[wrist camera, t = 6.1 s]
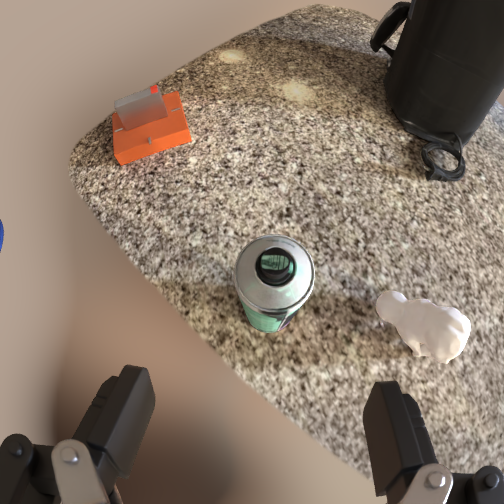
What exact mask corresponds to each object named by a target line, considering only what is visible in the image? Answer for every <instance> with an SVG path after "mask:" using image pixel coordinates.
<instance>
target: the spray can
mask: <svg viewBox="0 0 504 504" xmlns="http://www.w3.org/2000/svg"><path fill="white" fill-rule="evenodd" d="M314 279H315V268H314V263H313V260H312V258H311V256H310V254H309V252H308V251H307V250H306V248H305V247H304V246H303V245H302V244H301V243H299V242H298V241H296V240H295V239H293V238H290V237H288V236H284V235H280V234H270V235H264V236H261V237H258V238H256V239H254V240H252V241H251V242H250V243H248V244H247V245H246V246H245V247H244V248H243V249H242V251H241V252H240V254H239V256H238V258H237V260H236V264H235V268H234V283H235V287H236V290H237V293H238V295H239V298H240V300H241V303H242V305H243V308H244V310H245V313H246V315H247V318H248V320H249V322H250V323H251V325H252V326H253V327H254V328H256V329H257V330H259V331H261V332H265V333H274V332H277V331H280V330H281V329H283V328H284V327H285V326H286V325H287V324H288V323H289V322H290V321H291V319H292V318H293V317H294V315H295V314H296V313H297V312H298V310H299V309H300V308H301V306H302V305H303V304H304V303H305V301H306V300H307V298H308V297H309V296H310V293H311V291H312V289H313V285H314Z"/></svg>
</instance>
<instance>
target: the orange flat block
mask: <svg viewBox="0 0 504 504" xmlns="http://www.w3.org/2000/svg"><path fill="white" fill-rule="evenodd" d="M162 98H163V101H164V103H165V106H166V109H167V113H168V116H167V117H164V118H161V119H158V120H156V121H153V122H150V123H147V124H144V125H141V126H139V127H136V128H133V129H131V130H128V131H127V130H126V128H125V127H124V125H123V123H122V121H121V119H120V117H119V115H118V113H117V112H116V113H114V114H112V124H113V146H114V156H115V157H116V159H117V160H118V162H119V163H120V165H121V166H122V165H124V164H127V163H130V162H132V161H135V160H138V159H140V158H143V157H146V156H149V155H151V154H154V153H157V152H160V151H163V150H166V149H169V148H172V147H175V146H178V145H181V144H184V143H187V142H190V141H192V140H191V136H190V132H189V129H188V125H187V122H186V118H185V114H184V111H183V107H182V103H181V100H180V96H179V93H178V91H175V92H172V93H169V94H166V95H163V96H162Z"/></svg>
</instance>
